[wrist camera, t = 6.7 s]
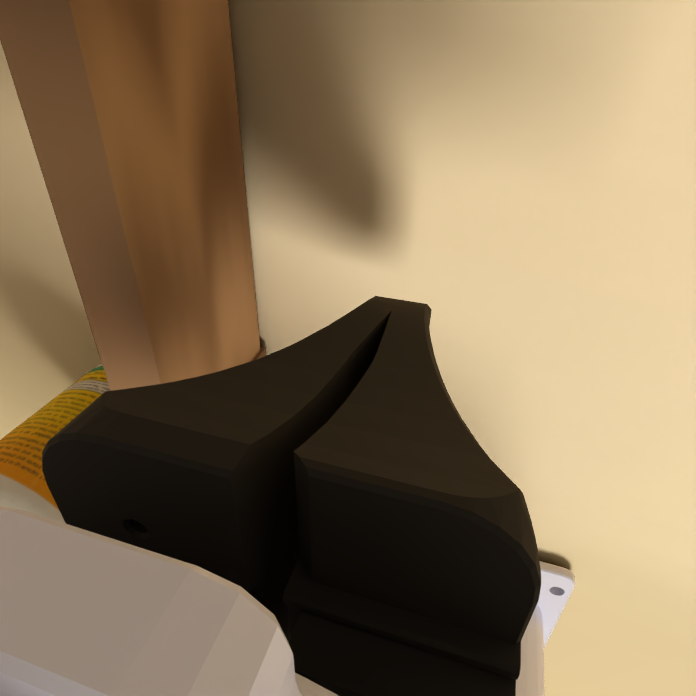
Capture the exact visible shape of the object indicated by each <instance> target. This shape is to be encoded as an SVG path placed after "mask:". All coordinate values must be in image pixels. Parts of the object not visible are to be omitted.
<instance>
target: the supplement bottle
mask: <svg viewBox="0 0 696 696" xmlns="http://www.w3.org/2000/svg"><path fill="white" fill-rule="evenodd" d="M105 391H111V390H110V387H109V384H108V381H107V377H106V374H105V371H104V368H103V365H102V363H101V364H100V365H98V366H97V367H95V368H94V369H93V370H91V371H90V372H89V373H87V374H86V375H85V376H83V377H82V378H81V379H79V380H78V381H77V382H76V383H74V384H73V385H71V386H70V387H68V388H67V389H66V390H65V391H63V392H62V393H61V394H59V395H58V396H57V397H56V398H54V399H53V400H52V401H50V402H49V403H48V404H46V405H45V406H44V407H43V408H41V409H40V410H39V411H37V412H36V413H35V414H33V415H32V416H31V417H30V418H28V419H27V420H26V421H24V422H23V423H22V424H21V425H19V426H18V427H16V428H15V429H14V430H12V431H11V432H10V433H9V434H7V435H6V436H5V437H4V438H2V439H1V440H0V507H9V508H17V509H21V510H25V511H28V512H31V513H34V514H37V515H40V516H43V517H46V518H50V519H53V520H56V521H59V522H62V523H65V521H64V519H63V517H62V515H61V513H60V511H59V509H58V507H57V504H56V502H55V500H54V498H53V496H52V494H51V492H50V490H49V488H48V486H47V483H46V480H45V477H44V474H43V471H42V451H43V449H44V448H45V446H46V444H47V442H48V441H49V440H50V439H51V438H52V437H53V436H54V435H56V434H57V433H58V432H59V431H60V430H61V429H63V428H64V427H65V426H66V425H67V424H68V423H69V422H71V421H72V420H73V419H74V418H75V417H76V416H78V415H79V414H80V413H81V412H82V411H83V410H84V409H86V408H87V407H88V406H89V405H90V404H91V403H93V402H94V401H95V400H96V399H97V398H98V397H99V396H101V395H102V394H103V393H104V392H105ZM65 524H66V523H65Z"/></svg>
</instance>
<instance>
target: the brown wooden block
mask: <svg viewBox="0 0 696 696" xmlns="http://www.w3.org/2000/svg"><path fill="white" fill-rule="evenodd" d="M0 40H1V43H2V46H3V50H4V53H5V56H6V59H7V62H8V66H9V69H10V72H11V75H12V78H13V81H14V85H15V88H16V91H17V94H18V97H19V101H20V104H21V107H22V110H23V113H24V116H25V120H26V123H27V126H28V129H29V132H30V136H31V139H32V142H33V145H34V148H35V152H36V155H37V158H38V161H39V164H40V167H41V171H42V174H43V177H44V180H45V183H46V187H47V190H48V193H49V196H50V199H51V202H52V206H53V209H54V212H55V215H56V218H57V222H58V225H59V228H60V231H61V234H62V237H63V241H64V244H65V247H66V250H67V253H68V257H69V260H70V263H71V266H72V269H73V272H74V276H75V279H76V282H77V285H78V288H79V292H80V295H81V298H82V301H83V304H84V307H85V311H86V314H87V317H88V320H89V323H90V327H91V330H92V333H93V336H94V339H95V342H96V346H97V349H98V352H99V355H100V358H101V362H102V365H103V368H104V371H105V374H106V377H107V381H108V384H109V387H110V390H111V391H112V390H121V389H128V388H135V387H143V386H150V385H157V384H163V383H169V382H175V381H179V380H184V379H189V378H194V377H198V376H202V375H206V374H211V373H215V372H218V371H222V370H225V369H228V368H231V367H235V366H238V365H241V364H244V363H247V362H251V361H254V360H257V359H259V358H262V357H265V356H266V348H263V347H260V340H259V329H258V319H257V308H256V297H255V286H254V276H253V265H252V254H251V243H250V233H249V222H248V211H247V200H246V190H245V179H244V168H243V157H242V147H241V136H240V125H239V114H238V104H237V93H236V82H235V71H234V61H233V50H232V39H231V28H230V18H229V7H228V0H0Z"/></svg>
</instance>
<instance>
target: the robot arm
mask: <svg viewBox="0 0 696 696" xmlns="http://www.w3.org/2000/svg"><path fill="white" fill-rule="evenodd" d="M430 317H431V308H430V307H429V306H428V305H427V304H422V303H416V302H410V301H404V300H397V299H391V298H385V297H379V296H375V297H373V298H371V299H370V300H368V301H366V302H365V303H363V304H362V305H360V306H359V307H357V308H356V309H354V310H353V311H351V312H350V313H348V314H346V315H345V316H343V317H341V318H340V319H338V320H337V321H335V322H333V323H332V324H330V325H329V326H327V327H325V328H323V329H321V330H319V331H318V332H316V333H314V334H312V335H310V336H308V337H306V338H305V339H303V340H301V341H299V342H297V343H295V344H293V345H291V346H289V347H286V348H284V349H282V350H279V351H277V352H275V353H272V354H270V355H267V356H265V357H262V358H259V359H257V360H254V361H251V362H247V363H244V364H241V365H238V366H235V367H231V368H228V369H225V370H222V371H218V372H215V373H211V374H206V375H202V376H198V377H194V378H189V379H184V380H179V381H175V382H169V383H163V384H157V385H150V386H143V387H135V388H128V389H121V390H112V391H105V392H104V393H103V394H102V395H101V396H99V397H98V398H97V399H96V400H95V401H94V402H93V403H91V404H90V405H89V406H88V407H87V408H86V409H84V410H83V411H82V412H81V413H80V414H79V415H78V416H76V417H75V418H74V419H73V420H72V421H71V422H69V423H68V424H67V425H66V426H65V427H64V428H63V429H61V430H60V431H59V432H58V433H57V434H56V435H54V436H53V437H52V438H51V439H50V440H49V441H48V442H47V444H46V446H45V448H44V449H43V451H42V471H43V474H44V477H45V480H46V483H47V486H48V488H49V490H50V492H51V494H52V496H53V498H54V500H55V502H56V504H57V507H58V509H59V511H60V513H61V515H62V517H63V519H64V521H65V523H66V524H65V523H62V522H59V521H56V520H53V519H50V518H46V517H43V516H40V515H37V514H34V513H31V512H28V511H25V510H21V509H17V508H9V507H0V696H545V672H544V647H545V645H546V643H547V641H548V639H549V637H550V635H551V633H552V631H553V629H554V627H555V625H556V623H557V621H558V619H559V617H560V615H561V613H562V611H563V609H564V607H565V605H566V603H567V601H568V599H569V597H570V595H571V593H572V591H573V589H574V587H575V579H574V575H573V573H572V572H571V571H570V570H568V569H566V568H564V567H560V566H556V565H553V564H549V563H545V562H542V561H539V555H538V549H537V544H536V539H535V534H534V530H533V526H532V522H531V519H530V515H529V512H528V508H527V505H526V502H525V499H524V496H523V493H522V492H521V490H520V489H519V488H518V487H517V486H516V485H515V484H514V483H513V482H512V481H511V480H510V479H509V478H508V477H507V476H506V475H505V474H504V473H503V472H502V471H501V470H500V469H499V468H498V466H497V465H496V464H495V463H494V462H493V461H492V460H491V459H490V458H489V457H488V455H487V454H486V453H485V452H484V450H483V449H482V448H481V447H480V445H479V444H478V442H477V441H476V439H475V438H474V436H473V435H472V433H471V432H470V430H469V429H468V427H467V426H466V424H465V423H464V421H463V420H462V418H461V417H460V415H459V413H458V411H457V410H456V408H455V406H454V404H453V402H452V400H451V398H450V396H449V394H448V392H447V390H446V387H445V385H444V383H443V380H442V378H441V375H440V372H439V369H438V366H437V363H436V360H435V356H434V352H433V348H432V343H431V338H430V331H429V324H430Z"/></svg>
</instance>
